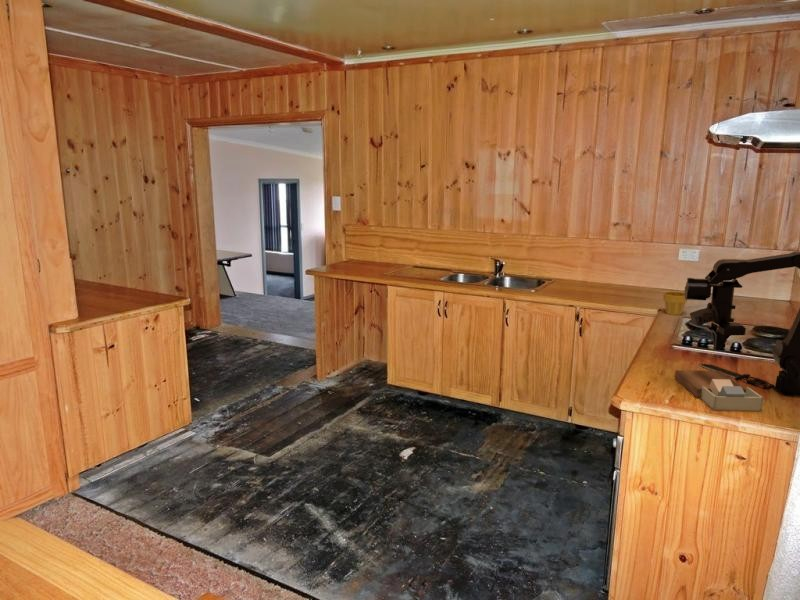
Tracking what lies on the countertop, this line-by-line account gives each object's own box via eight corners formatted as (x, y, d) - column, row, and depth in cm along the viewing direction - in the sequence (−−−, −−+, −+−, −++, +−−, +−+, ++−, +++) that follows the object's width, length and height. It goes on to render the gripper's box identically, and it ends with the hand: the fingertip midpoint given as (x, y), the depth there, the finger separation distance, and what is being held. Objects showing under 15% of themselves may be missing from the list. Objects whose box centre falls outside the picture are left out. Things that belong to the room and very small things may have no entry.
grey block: (741, 386, 157) (745, 394, 154) (735, 398, 160) (739, 406, 158) (722, 386, 157) (726, 393, 155) (717, 398, 160) (721, 405, 158)
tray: (746, 399, 163) (748, 387, 162) (761, 411, 155) (763, 397, 154) (700, 399, 164) (702, 386, 163) (713, 410, 156) (715, 397, 155)
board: (719, 379, 179) (720, 370, 178) (745, 399, 163) (746, 389, 163) (674, 378, 180) (675, 370, 180) (696, 398, 165) (697, 388, 164)
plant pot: (665, 315, 259) (667, 295, 257) (659, 310, 269) (660, 291, 267) (689, 316, 258) (691, 296, 255) (681, 311, 268) (683, 291, 265)
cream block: (726, 386, 164) (729, 379, 162) (733, 399, 160) (736, 392, 158) (709, 386, 165) (712, 379, 163) (715, 398, 161) (718, 391, 159)
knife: (695, 366, 193) (695, 362, 193) (709, 363, 195) (710, 360, 195) (761, 391, 170) (762, 387, 170) (777, 388, 172) (777, 384, 172)
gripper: (681, 295, 178) (677, 341, 182) (709, 308, 160) (704, 359, 164) (717, 294, 178) (712, 340, 181) (749, 307, 159) (743, 359, 163)
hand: (717, 349), depth 172 cm, fingers closed
